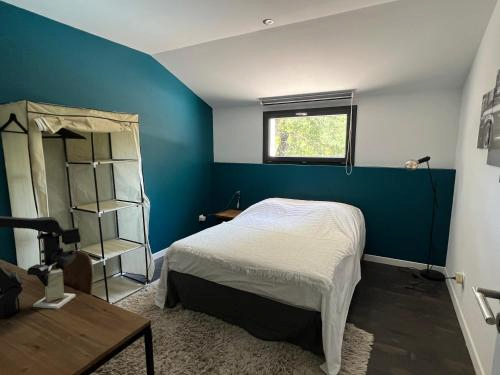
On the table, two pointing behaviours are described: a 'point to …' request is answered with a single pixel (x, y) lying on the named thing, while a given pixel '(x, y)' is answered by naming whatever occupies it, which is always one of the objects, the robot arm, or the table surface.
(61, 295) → the skincare box
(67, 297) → the white square tray
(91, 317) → the table surface
